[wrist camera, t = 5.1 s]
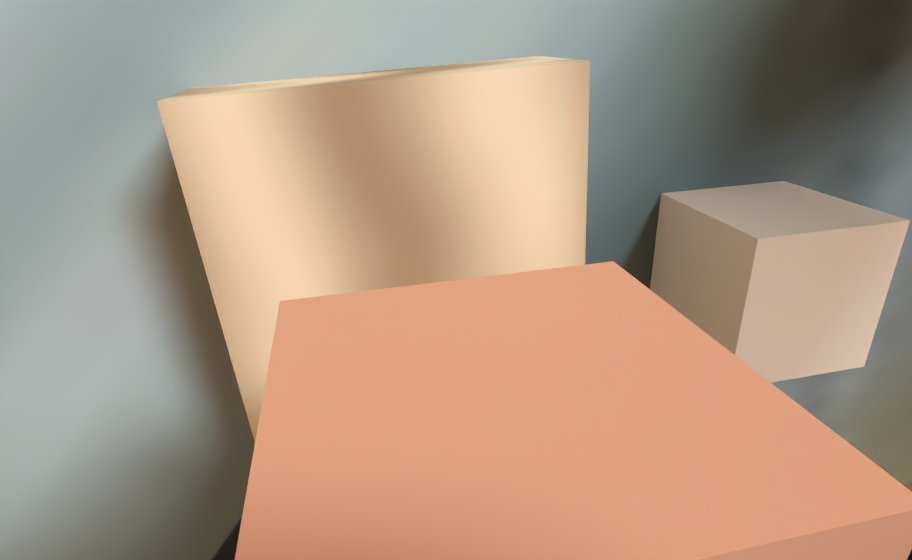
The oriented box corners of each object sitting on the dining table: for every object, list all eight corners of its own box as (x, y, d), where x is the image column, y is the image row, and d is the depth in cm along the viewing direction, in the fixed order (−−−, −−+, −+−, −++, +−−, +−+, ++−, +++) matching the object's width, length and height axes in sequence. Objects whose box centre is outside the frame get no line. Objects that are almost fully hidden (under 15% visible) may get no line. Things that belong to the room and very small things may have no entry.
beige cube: (782, 180, 20) (910, 220, 16) (757, 300, 23) (863, 366, 18) (659, 192, 20) (758, 238, 15) (645, 316, 22) (728, 389, 17)
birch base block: (535, 55, 17) (590, 60, 14) (538, 334, 21) (581, 394, 18) (195, 87, 15) (156, 101, 12) (271, 382, 20) (259, 459, 16)
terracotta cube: (613, 261, 9) (929, 506, 4) (591, 502, 11) (786, 841, 6) (279, 300, 8) (216, 671, 3) (326, 556, 10) (326, 1000, 5)
